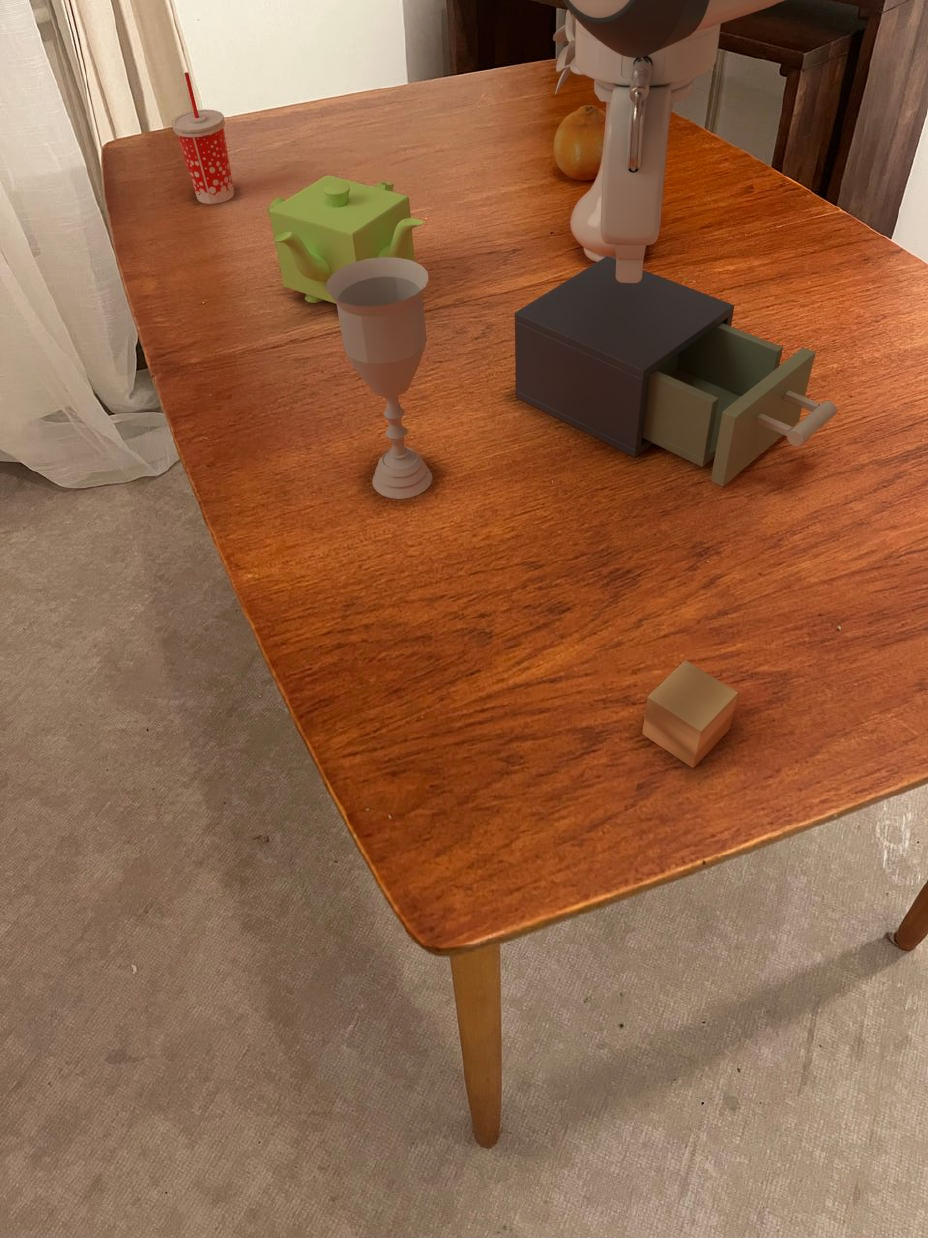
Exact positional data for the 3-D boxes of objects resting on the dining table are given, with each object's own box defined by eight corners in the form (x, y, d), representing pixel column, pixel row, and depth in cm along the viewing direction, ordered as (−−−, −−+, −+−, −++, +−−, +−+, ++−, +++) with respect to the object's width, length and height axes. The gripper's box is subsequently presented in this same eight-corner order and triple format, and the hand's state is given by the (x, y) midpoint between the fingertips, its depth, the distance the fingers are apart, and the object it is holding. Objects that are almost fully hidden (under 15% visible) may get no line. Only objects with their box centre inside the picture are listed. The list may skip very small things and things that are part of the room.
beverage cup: (246, 184, 123) (219, 62, 113) (233, 206, 119) (204, 82, 109) (199, 184, 124) (168, 63, 113) (184, 206, 120) (151, 83, 109)
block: (729, 730, 64) (738, 692, 61) (693, 768, 62) (701, 731, 59) (678, 697, 66) (685, 659, 63) (641, 734, 64) (647, 696, 61)
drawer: (843, 441, 82) (864, 370, 77) (768, 510, 76) (785, 439, 71) (678, 368, 90) (687, 300, 85) (600, 426, 85) (604, 357, 80)
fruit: (587, 178, 114) (607, 103, 111) (533, 167, 118) (550, 95, 116) (622, 192, 120) (642, 122, 118) (569, 182, 125) (587, 113, 122)
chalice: (367, 513, 80) (335, 314, 66) (352, 463, 84) (318, 267, 71) (454, 494, 81) (439, 294, 68) (434, 446, 85) (416, 249, 72)
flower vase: (642, 205, 114) (663, -48, 96) (690, 283, 102) (725, 10, 83) (532, 218, 113) (532, -35, 95) (567, 298, 101) (575, 26, 82)
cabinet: (720, 391, 89) (735, 304, 82) (635, 458, 83) (643, 370, 77) (601, 339, 95) (607, 255, 89) (515, 397, 90) (514, 312, 83)
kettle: (432, 317, 100) (422, 209, 91) (293, 340, 98) (271, 233, 90) (405, 248, 110) (394, 145, 101) (279, 269, 108) (258, 166, 100)
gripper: (696, 94, 53) (672, 322, 63) (701, -19, 67) (681, 184, 77) (580, 94, 54) (575, 319, 64) (608, -17, 68) (600, 183, 78)
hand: (633, 245), depth 71 cm, fingers open, 8 cm apart
